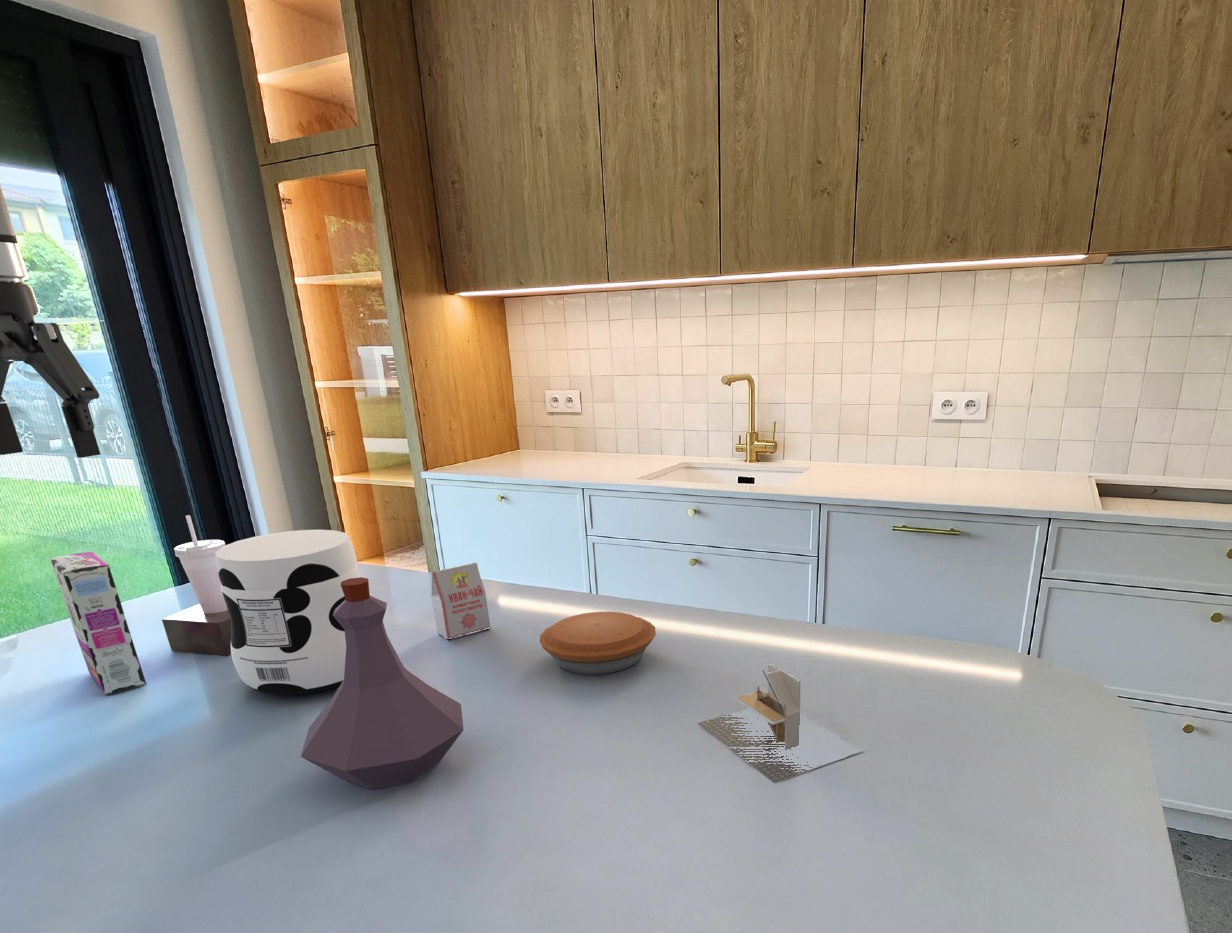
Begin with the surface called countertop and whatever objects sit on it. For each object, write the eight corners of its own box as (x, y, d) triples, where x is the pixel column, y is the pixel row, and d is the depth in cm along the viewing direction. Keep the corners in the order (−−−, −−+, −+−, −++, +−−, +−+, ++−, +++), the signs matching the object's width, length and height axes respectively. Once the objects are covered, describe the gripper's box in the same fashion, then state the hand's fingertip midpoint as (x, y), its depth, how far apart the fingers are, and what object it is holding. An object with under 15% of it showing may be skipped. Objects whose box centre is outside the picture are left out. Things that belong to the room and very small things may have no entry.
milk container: (367, 642, 115) (342, 521, 108) (400, 681, 102) (374, 545, 95) (234, 673, 106) (197, 542, 99) (251, 720, 93) (210, 573, 86)
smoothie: (181, 615, 114) (153, 519, 108) (216, 601, 119) (190, 509, 114) (219, 617, 112) (191, 520, 107) (252, 603, 118) (227, 510, 112)
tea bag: (437, 634, 118) (426, 569, 114) (479, 623, 121) (470, 560, 118) (447, 640, 115) (436, 574, 111) (490, 629, 119) (481, 565, 115)
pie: (524, 679, 101) (520, 643, 99) (564, 635, 115) (560, 603, 113) (641, 685, 99) (639, 648, 97) (667, 639, 113) (665, 606, 111)
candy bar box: (150, 684, 104) (110, 564, 97) (104, 697, 100) (60, 573, 94) (131, 662, 111) (92, 549, 105) (88, 673, 108) (46, 556, 101)
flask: (287, 763, 83) (238, 582, 75) (436, 714, 93) (406, 548, 85) (337, 831, 72) (285, 624, 64) (501, 767, 81) (474, 580, 73)
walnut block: (171, 651, 115) (161, 618, 113) (225, 627, 123) (216, 596, 121) (227, 656, 112) (218, 623, 110) (278, 631, 121) (270, 600, 119)
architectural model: (773, 754, 82) (774, 689, 79) (737, 727, 87) (736, 666, 84) (800, 745, 83) (801, 681, 80) (762, 719, 89) (763, 659, 86)
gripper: (99, 280, 99) (147, 452, 108) (-50, 285, 105) (7, 448, 113) (40, 277, 93) (96, 461, 101) (-115, 283, 98) (-49, 456, 107)
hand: (49, 454), depth 107 cm, fingers open, 13 cm apart
